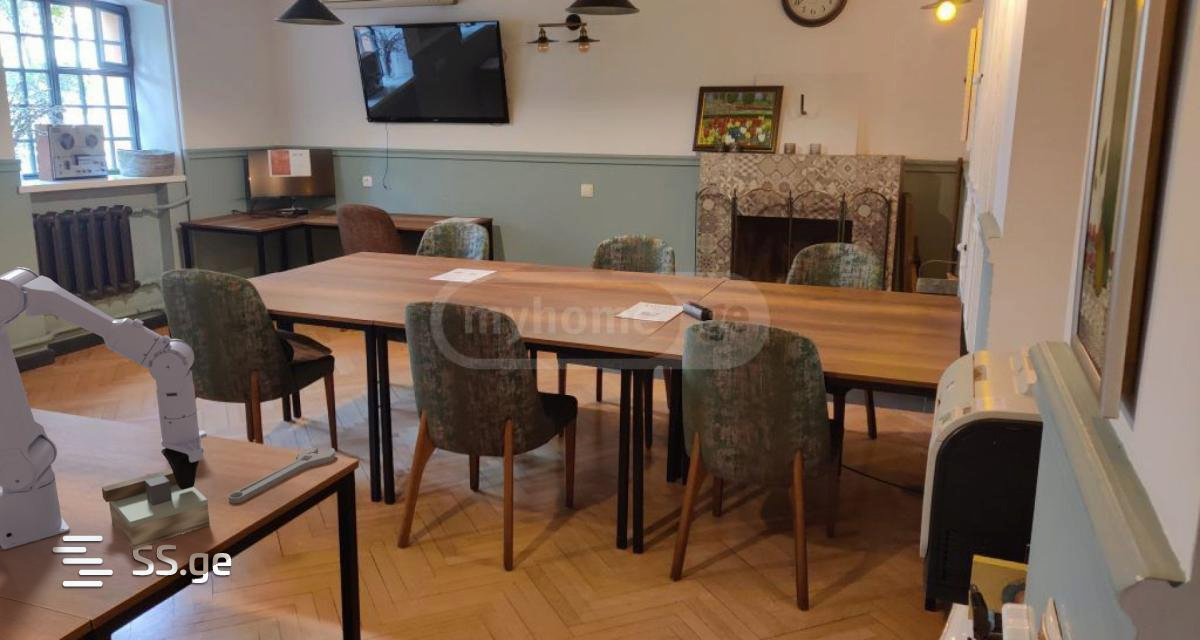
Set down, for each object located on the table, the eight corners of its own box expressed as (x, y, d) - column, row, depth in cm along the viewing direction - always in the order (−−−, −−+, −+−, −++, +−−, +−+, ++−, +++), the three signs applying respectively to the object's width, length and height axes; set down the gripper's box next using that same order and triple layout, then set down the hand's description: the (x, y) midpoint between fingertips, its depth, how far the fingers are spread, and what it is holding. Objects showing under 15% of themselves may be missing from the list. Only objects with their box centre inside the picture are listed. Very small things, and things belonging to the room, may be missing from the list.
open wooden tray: (133, 549, 140) (130, 527, 139) (111, 522, 148) (108, 501, 147) (209, 525, 148) (207, 504, 147) (185, 501, 156) (182, 481, 155)
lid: (131, 533, 139) (127, 501, 138) (109, 507, 147) (105, 477, 146) (208, 510, 147) (205, 480, 146) (183, 486, 155) (180, 458, 154)
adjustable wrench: (236, 507, 156) (235, 498, 155) (213, 499, 159) (212, 490, 158) (340, 458, 177) (340, 450, 176) (318, 451, 180) (317, 443, 179)
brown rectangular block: (106, 502, 144) (105, 491, 144) (103, 498, 146) (101, 487, 145) (193, 478, 153) (192, 467, 153) (189, 474, 155) (188, 464, 154)
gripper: (218, 419, 143) (226, 494, 147) (187, 396, 153) (195, 467, 157) (173, 429, 138) (182, 507, 142) (144, 405, 149) (153, 478, 152)
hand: (186, 487), depth 149 cm, fingers closed
